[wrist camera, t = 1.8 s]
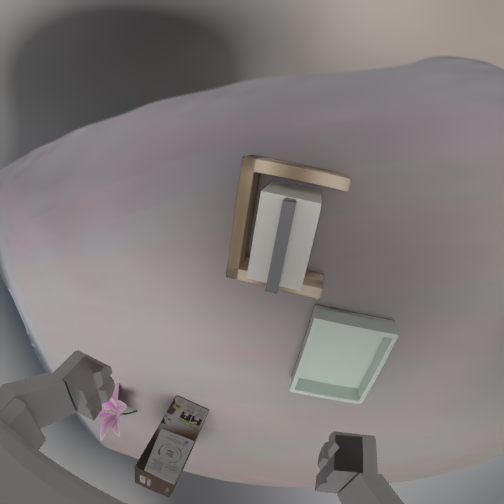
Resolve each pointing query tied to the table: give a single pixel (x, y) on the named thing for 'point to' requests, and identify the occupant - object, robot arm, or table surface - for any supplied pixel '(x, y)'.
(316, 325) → the tray
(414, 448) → the table surface
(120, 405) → the lily
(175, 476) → the coffee box
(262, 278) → the white block
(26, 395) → the robot arm
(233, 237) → the bay
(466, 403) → the table surface
